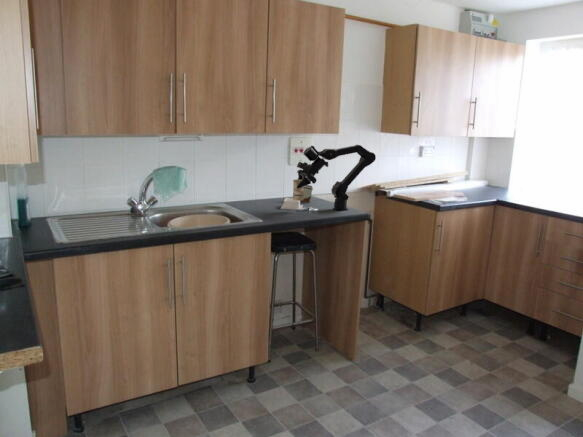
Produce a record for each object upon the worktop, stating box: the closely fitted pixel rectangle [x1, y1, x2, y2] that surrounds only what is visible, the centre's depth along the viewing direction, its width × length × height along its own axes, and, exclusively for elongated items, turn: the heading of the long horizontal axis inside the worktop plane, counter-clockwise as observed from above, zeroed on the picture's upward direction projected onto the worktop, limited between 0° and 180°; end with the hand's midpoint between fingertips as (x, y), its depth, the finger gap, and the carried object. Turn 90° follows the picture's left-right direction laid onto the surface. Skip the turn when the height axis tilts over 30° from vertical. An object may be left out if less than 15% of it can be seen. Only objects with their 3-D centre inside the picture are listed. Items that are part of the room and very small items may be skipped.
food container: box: [300, 184, 314, 204], centre depth 298 cm, size 12×6×10 cm, turn 66°
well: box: [280, 197, 304, 211], centre depth 279 cm, size 12×12×4 cm
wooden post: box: [292, 179, 304, 201], centre depth 267 cm, size 5×5×11 cm
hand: (295, 187), depth 266 cm, fingers closed on wooden post, 4 cm apart
